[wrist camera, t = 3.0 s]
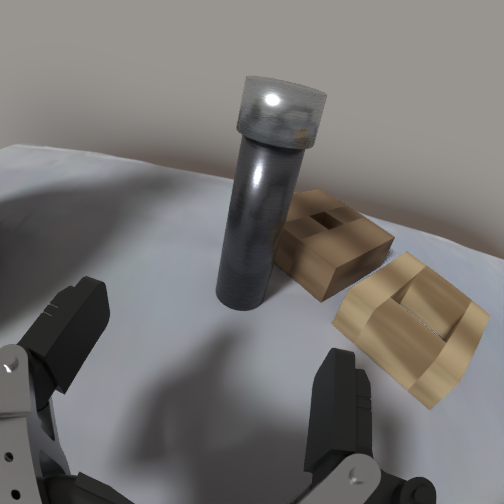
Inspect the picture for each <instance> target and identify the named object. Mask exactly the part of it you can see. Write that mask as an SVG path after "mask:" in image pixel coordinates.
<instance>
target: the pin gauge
mask: <svg viewBox="0 0 504 504" xmlns="http://www.w3.org/2000/svg"><path fill="white" fill-rule="evenodd" d="M326 98H327V94H326V93H324V92H321V91H319V90H316V89H313V88H310V87H307V86H303V85H300V84H296V83H292V82H288V81H283V80H278V79H273V78H267V77H258V76H246V80H245V85H244V91H243V95H242V101H241V106H240V111H239V116H238V122H237V131H238V132H239V133H241V134H242V140H241V145H240V151H239V157H238V162H237V167H236V173H235V178H234V184H233V189H232V195H231V201H230V206H229V212H228V218H227V224H226V230H225V236H224V242H223V248H222V254H221V260H220V266H219V273H218V279H217V285H216V295H217V297H218V299H219V300H220V302H222V303H223V304H224V305H225V306H227V307H229V308H231V309H235V310H240V311H247V310H252V309H255V308H257V307H258V306H259V305H260V304H261V303H262V301H263V298H264V295H265V292H266V288H267V285H268V281H269V278H270V274H271V271H272V267H273V264H274V261H275V257H276V254H277V250H278V247H279V243H280V239H281V236H282V232H283V229H284V225H285V222H286V218H287V215H288V211H289V207H290V204H291V200H292V196H293V193H294V189H295V185H296V182H297V178H298V174H299V171H300V166H301V163H302V159H303V156H304V152H305V149H308V148H311V147H313V145H314V143H315V139H316V135H317V132H318V128H319V124H320V120H321V116H322V113H323V109H324V105H325V101H326Z"/></svg>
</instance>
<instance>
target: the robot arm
mask: <svg viewBox="0 0 504 504" xmlns="http://www.w3.org/2000/svg"><path fill="white" fill-rule="evenodd" d="M109 318H110V309H109V303H108V297H107V290H106V285H105V283H104V282H102V281H99V280H96V279H93V278H90V277H88V276H85V277H83V278H82V279H81V280H80V281H79V282H78V283H77V285H76V286H75V287H73V286H69V287H67V288H65V289H64V290H62V291H60V292H59V293H58V294H57V295H56V296H55V297H54V299H53V300H52V301H51V302H50V305H48V306H47V307H46V308H45V309H44V312H43V313H41V314H40V316H39V317H38V318H37V319H36V321H35V322H34V323H33V325H32V326H31V327H30V328H29V330H28V331H27V332H26V334H25V335H24V336H23V337H22V339H21V340H20V341H19V342H18V343H17V344H16V345H15V344H9V345H6V346H3V347H2V348H0V504H134V503H133V502H131V501H130V500H128V499H127V498H126V497H124V496H123V495H121V494H120V493H118V492H117V491H116V490H114V489H113V488H112V487H110V486H109V485H106V484H104V483H102V482H100V481H98V480H95V479H93V478H91V477H89V476H87V475H85V474H83V473H81V472H79V473H78V476H76V475H71V473H70V469H69V466H68V462H67V459H66V456H65V454H64V452H63V450H62V448H61V445H60V442H59V437H58V432H57V426H56V421H55V415H54V408H53V401H52V397H51V396H52V394H53V392H54V391H55V390H57V391H59V392H61V393H63V394H64V395H65V393H66V391H67V390H68V388H69V386H70V385H71V383H72V381H73V380H74V378H75V376H76V375H77V373H78V371H79V370H80V368H81V366H82V365H83V363H84V361H85V360H86V358H87V357H88V355H89V353H90V352H91V350H92V349H93V347H94V345H95V344H96V342H97V341H98V339H99V337H100V336H101V334H102V333H103V331H104V330H105V328H106V326H107V324H108V322H109ZM370 398H371V388H370V382H369V380H368V377H367V375H366V373H365V371H364V370H361V369H356V368H355V354H354V352H351V351H346V350H341V349H337V348H331V350H330V351H329V353H328V355H327V356H326V358H325V360H324V361H323V363H322V365H321V366H320V368H319V369H318V371H317V373H316V375H315V378H314V382H313V387H312V398H311V408H310V419H309V429H308V438H307V447H306V455H305V463H304V471H305V472H312V473H313V477H312V482H311V483H310V484H309V485H308V486H307V487H305V488H304V489H303V490H302V491H301V492H300V493H299V494H298V495H297V496H295V497H294V498H293V499H292V500H291V501H290V502H289V503H287V504H436V490H435V487H434V485H433V484H432V483H431V482H430V481H429V480H428V479H426V478H423V477H415V478H412V479H410V480H408V481H406V480H404V479H401V478H398V477H396V476H393V475H391V474H388V473H386V472H384V471H383V470H381V469H380V467H379V465H378V464H377V462H376V461H375V460H374V458H373V454H372V412H371V400H370Z"/></svg>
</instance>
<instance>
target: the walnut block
mask: <svg viewBox="0 0 504 504" xmlns="http://www.w3.org/2000/svg"><path fill="white" fill-rule="evenodd" d="M394 238H395V237H394V236H392V235H391V234H390V233H388V232H387V231H385V230H384V229H382V228H381V227H379V226H378V225H376V224H375V223H373V222H372V221H370V220H369V219H367V218H366V217H364V216H363V215H361V214H360V213H358V212H356V211H355V210H353V209H352V208H350V207H349V206H347V205H345V204H344V203H342V202H341V201H339V200H338V199H336V198H334V197H333V196H331V195H329V194H328V193H326V192H325V191H323V190H321V189H316V190H311V191H305V192H300V193H295V194H293V196H292V200H291V204H290V207H289V211H288V215H287V218H286V222H285V225H284V229H283V232H282V236H281V239H280V243H279V247H278V250H277V254H276V257H275V261H274V263H275V264H277V265H278V266H279V267H280V268H281V269H282V270H284V271H285V272H286V273H287V274H288V275H290V276H291V277H292V278H293V279H294V280H295V281H297V282H298V283H299V284H300V285H301V286H302V287H304V288H305V289H306V290H307V291H308V292H309V293H310V294H312V295H313V296H314V297H315V298H316V299H317V300H319V301H320V302H323V301H324V300H326V299H328V298H329V297H331V296H333V295H334V294H336V293H338V292H340V291H341V290H343V289H345V288H346V287H348V286H349V285H351V284H353V283H354V282H356V281H358V280H359V279H361V278H362V277H364V276H366V275H367V274H369V273H370V272H372V271H374V270H375V269H377V268H378V267H380V266H381V265H382V263H383V261H384V259H385V257H386V255H387V253H388V251H389V249H390V247H391V245H392V242H393V240H394Z"/></svg>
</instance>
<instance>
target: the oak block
mask: <svg viewBox="0 0 504 504" xmlns="http://www.w3.org/2000/svg"><path fill="white" fill-rule="evenodd" d="M399 304H401V305H403V306H404V307H405V308H406V309H408V310H409V311H410V312H411V313H413V314H414V315H415V316H416V317H417V318H419V319H420V320H421V321H422V322H424V323H425V324H426V325H427V326H429V327H430V328H431V329H432V330H433V331H435V332H436V333H437V334H438V335H439V336H441V337H442V338H443V339H444V341H443V340H442V339H441V338H440V337H439V336H437V335H436V334H435V333H434V332H432V331H431V330H430V329H429V328H428V327H426V326H425V325H424V324H423V323H422V322H420V321H419V320H418V319H417V318H415V317H414V316H413V315H412V314H410V313H409V312H408V311H407V310H405V309H404V308H403V307H402V306H400V305H399ZM489 318H490V315H489V314H488V313H487V312H486V311H485V310H483V309H482V308H481V307H480V306H478V305H477V304H476V303H475V302H474V301H472V300H471V299H470V298H469V297H467V296H466V295H465V294H463V293H462V292H461V291H460V290H458V289H457V288H456V287H455V286H453V285H452V284H451V283H449V282H448V281H447V280H445V279H444V278H443V277H442V276H440V275H439V274H438V273H436V272H435V271H434V270H432V269H431V268H430V267H428V266H427V265H425V264H424V263H423V262H421V261H420V260H419V259H417V258H416V257H414V256H413V255H412V254H410V253H409V252H408V251H407V252H406V253H404V254H403V255H401V256H400V257H398V258H397V259H395V260H394V261H392V262H391V263H389V264H388V265H386V266H385V267H383V268H382V269H380V270H378V271H377V272H375V273H374V274H372V275H371V276H369V277H368V278H366V279H364V280H363V281H361V282H360V283H358V284H356V285H355V286H353V287H352V288H350V289H349V290H348V292H347V294H346V296H345V298H344V300H343V302H342V304H341V306H340V308H339V310H338V312H337V314H336V316H335V318H334V320H333V322H332V325H334V326H335V327H336V328H337V329H338V330H339V331H340V332H342V333H343V334H344V335H345V336H346V337H347V338H348V339H350V340H351V341H352V342H353V343H354V344H355V345H356V346H358V347H359V348H360V349H361V350H362V351H363V352H364V353H365V354H367V355H368V356H369V357H370V358H371V359H372V360H373V361H375V362H376V363H377V364H378V365H379V366H380V367H381V368H383V369H384V370H385V371H386V372H387V373H388V374H389V375H391V376H392V377H393V378H394V379H395V380H396V381H397V382H399V383H400V384H401V385H402V386H403V387H404V388H405V389H407V390H408V391H409V392H410V393H411V394H412V395H413V396H414V397H416V398H417V399H418V400H419V401H420V402H421V403H422V404H424V405H425V406H426V407H427V408H428V409H429V410H430V409H431V408H432V407H434V406H435V405H436V404H437V403H438V402H439V401H440V400H441V399H442V398H443V397H445V396H446V395H447V394H448V393H449V392H450V391H451V390H452V389H453V388H454V387H455V386H456V385H457V384H458V383H459V382H460V380H461V378H462V376H463V375H464V373H465V371H466V369H467V367H468V365H469V363H470V361H471V359H472V356H473V354H474V352H475V350H476V348H477V346H478V344H479V341H480V339H481V337H482V335H483V332H484V330H485V327H486V325H487V323H488V320H489Z"/></svg>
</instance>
